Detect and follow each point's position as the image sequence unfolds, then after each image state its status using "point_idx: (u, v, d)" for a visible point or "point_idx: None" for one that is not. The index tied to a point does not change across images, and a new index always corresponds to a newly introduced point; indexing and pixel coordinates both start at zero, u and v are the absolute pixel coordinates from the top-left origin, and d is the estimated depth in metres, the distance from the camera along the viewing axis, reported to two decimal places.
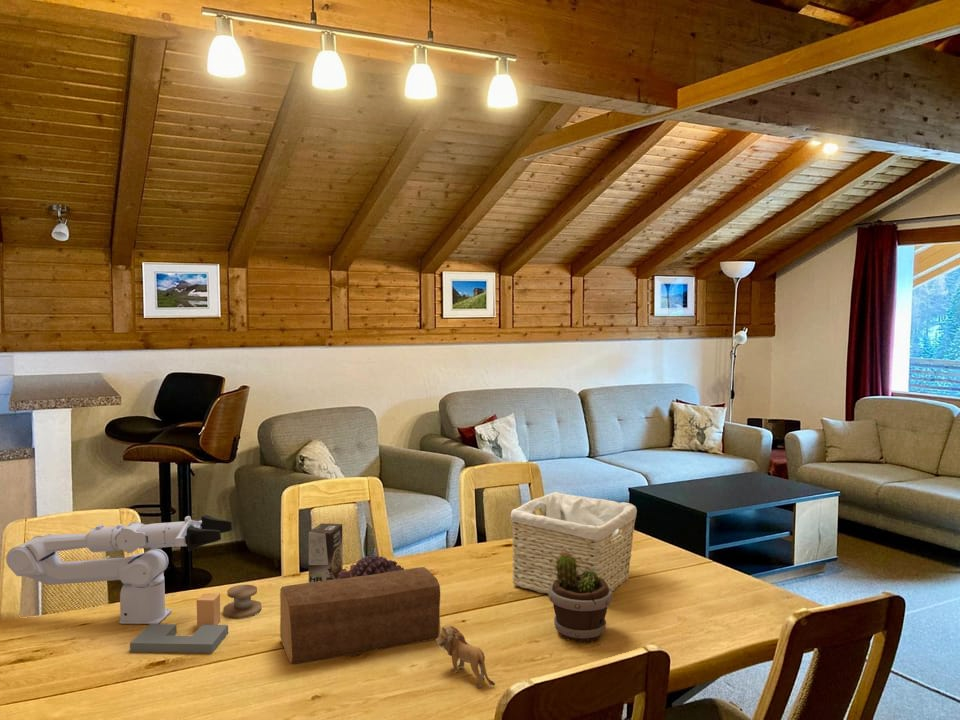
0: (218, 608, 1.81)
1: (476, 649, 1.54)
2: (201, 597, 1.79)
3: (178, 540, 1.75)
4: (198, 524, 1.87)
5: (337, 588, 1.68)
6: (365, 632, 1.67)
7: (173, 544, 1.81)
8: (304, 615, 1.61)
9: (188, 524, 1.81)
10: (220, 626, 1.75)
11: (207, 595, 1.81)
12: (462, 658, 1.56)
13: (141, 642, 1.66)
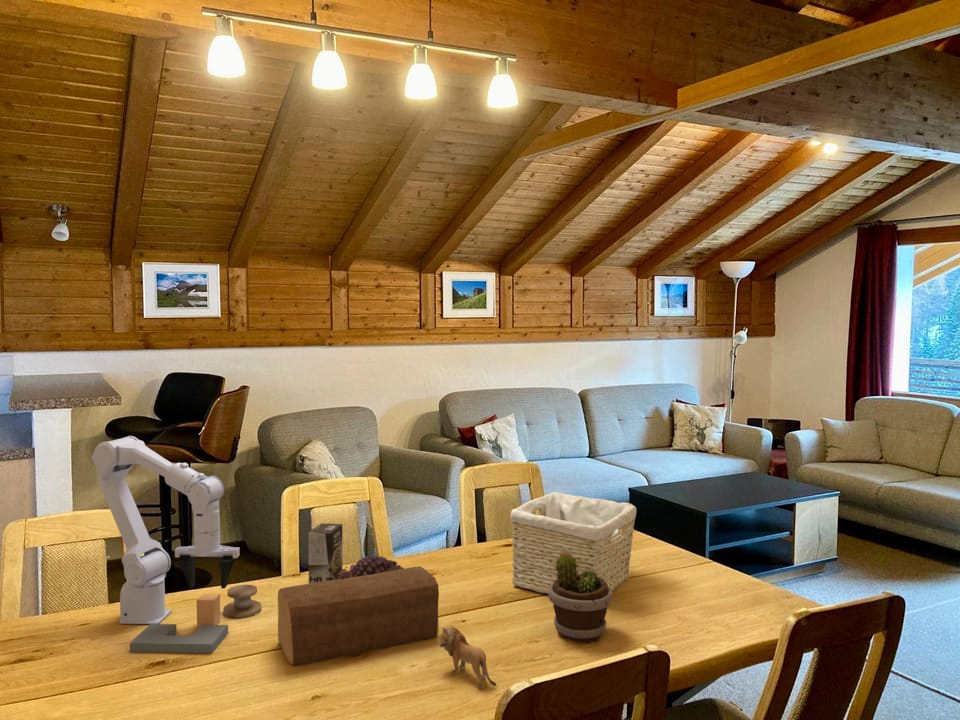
0: (218, 608, 1.81)
1: (477, 650, 1.54)
2: (201, 597, 1.79)
3: None
4: None
5: (336, 589, 1.67)
6: (365, 632, 1.66)
7: None
8: (305, 617, 1.60)
9: None
10: (220, 626, 1.75)
11: (207, 595, 1.81)
12: (463, 659, 1.56)
13: (141, 642, 1.66)
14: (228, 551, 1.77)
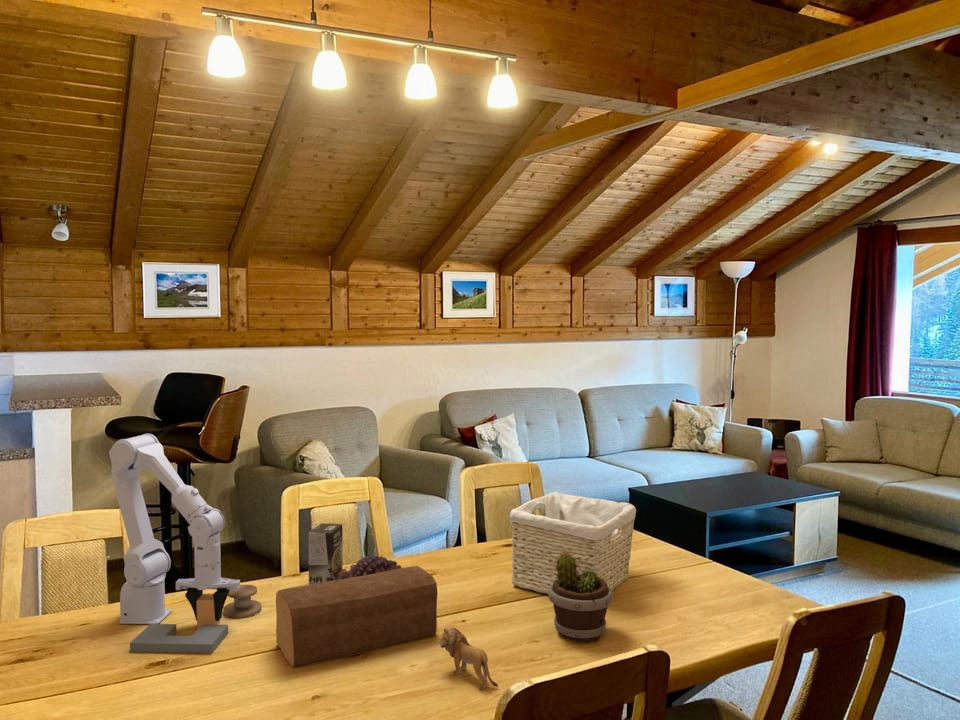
0: None
1: (479, 650, 1.53)
2: (201, 597, 1.79)
3: None
4: None
5: (336, 589, 1.67)
6: (366, 632, 1.66)
7: None
8: (306, 618, 1.60)
9: None
10: (220, 626, 1.75)
11: (207, 595, 1.81)
12: (465, 660, 1.56)
13: (141, 642, 1.66)
14: (229, 584, 1.78)
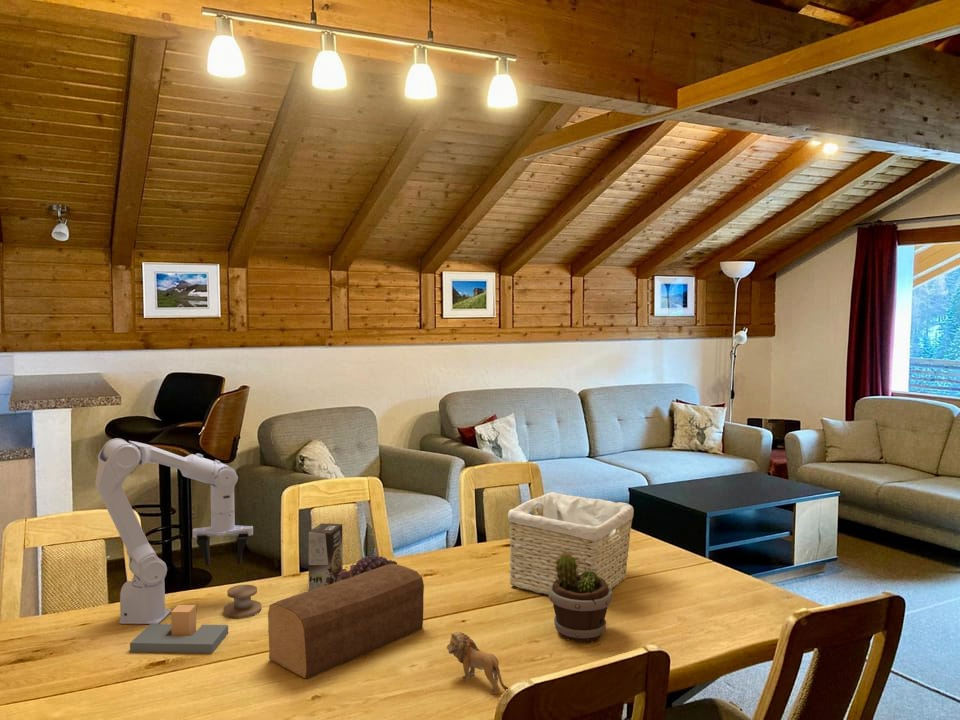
0: (194, 620, 1.74)
1: (490, 655, 1.51)
2: (176, 609, 1.72)
3: None
4: None
5: (335, 594, 1.64)
6: (367, 633, 1.66)
7: None
8: (316, 626, 1.56)
9: None
10: (220, 626, 1.75)
11: (183, 606, 1.74)
12: (474, 665, 1.53)
13: (141, 642, 1.66)
14: (244, 529, 1.94)
